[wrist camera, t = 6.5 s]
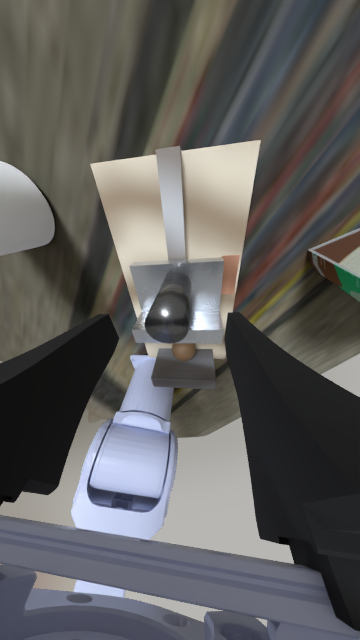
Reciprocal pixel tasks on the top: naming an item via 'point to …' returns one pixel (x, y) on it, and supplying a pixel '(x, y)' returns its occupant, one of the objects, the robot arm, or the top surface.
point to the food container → (340, 262)
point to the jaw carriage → (179, 301)
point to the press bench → (181, 232)
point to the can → (22, 213)
